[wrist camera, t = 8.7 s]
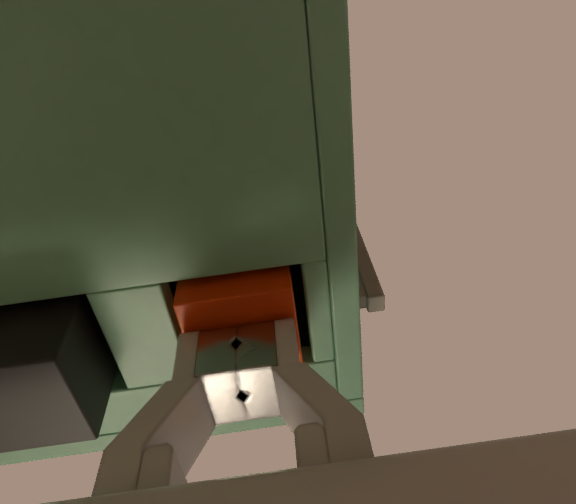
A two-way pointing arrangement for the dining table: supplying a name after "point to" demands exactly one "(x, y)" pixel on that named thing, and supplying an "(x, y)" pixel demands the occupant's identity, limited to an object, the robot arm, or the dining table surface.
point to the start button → (236, 300)
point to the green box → (180, 175)
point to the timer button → (52, 373)
